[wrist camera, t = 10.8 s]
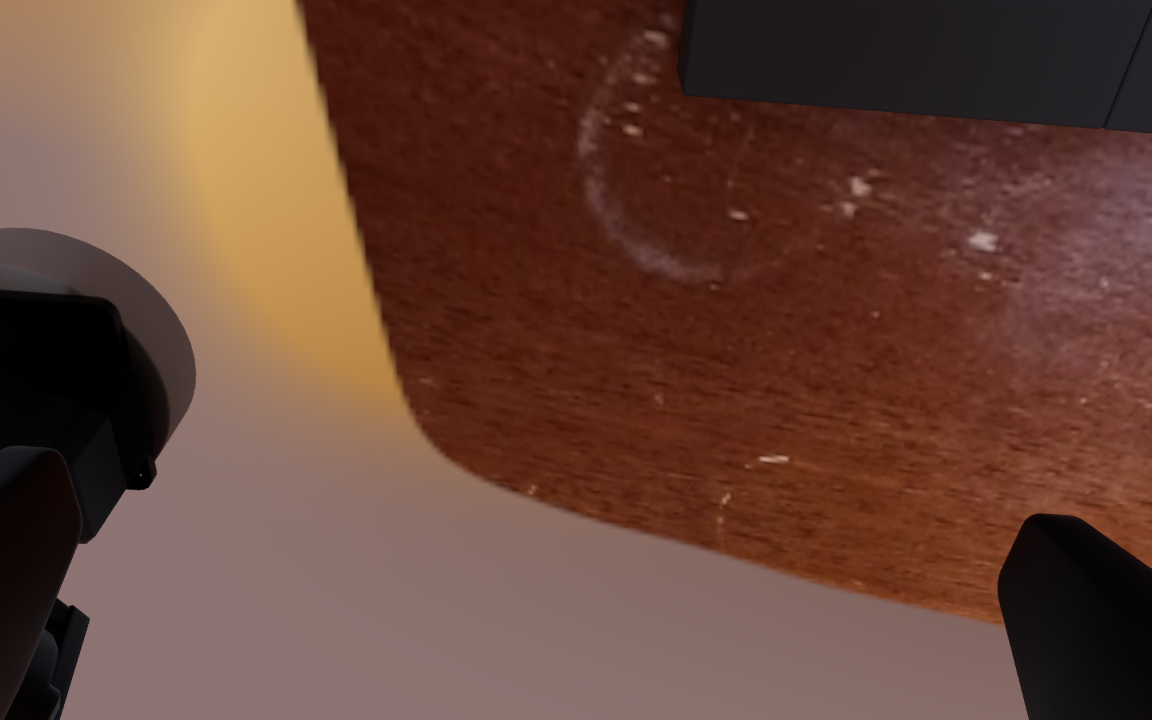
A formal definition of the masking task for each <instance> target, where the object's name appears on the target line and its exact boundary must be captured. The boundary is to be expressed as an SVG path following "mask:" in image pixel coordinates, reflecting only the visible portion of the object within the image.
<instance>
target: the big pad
mask: <svg viewBox="0 0 1152 720" xmlns="http://www.w3.org/2000/svg"><path fill="white" fill-rule="evenodd" d="M677 73H678V77H679V80H680V84H681V88H682V91H683V94H684V95H686V96H698V97H711V98H723V99H735V100H748V101H760V102H772V103H785V104H797V105H810V106H822V107H834V108H847V109H859V110H872V111H884V112H896V113H909V114H921V115H933V116H946V117H958V118H971V119H983V120H995V121H1008V122H1020V123H1033V124H1045V125H1057V126H1070V127H1082V128H1094V129H1099V128H1102V127H1103V128H1104V129H1106V130H1119V131H1131V132H1143V133H1152V0H686V7H685V14H684V22H683V29H682V36H681V44H680V51H679V59H678V66H677Z"/></svg>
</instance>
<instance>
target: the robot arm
mask: <svg viewBox="0 0 1152 720" xmlns="http://www.w3.org/2000/svg"><path fill="white" fill-rule="evenodd" d="M92 312H94V313H98V314H99V315H100V316H102V318H103V319H104V321H102V320H98V319H97V318H96V317H94V315H93V314H92ZM154 445H155V440H154V436H153V432H152V427H151V423H150V419H149V414H148V410H147V406H146V401H145V397H144V393H143V388H142V384H141V380H140V377H139V376H138V374H137V373H136V372H135V370H133V366H132V362H131V358H130V354H129V349H128V345H127V341H126V337H125V332H124V328H123V324H122V320H121V315H120V313H119V310H118V308H117V307H116V306H115V305H114V304H113V303H112V302H110V301H109V300H107V299H105V298H101V297H96V296H82V295H69V294H55V293H41V292H28V291H14V290H0V720H60V717H61V713H62V710H63V707H64V704H65V700H66V697H67V694H68V690H69V687H70V684H71V680H72V677H73V674H74V671H75V667H76V664H77V661H78V657H79V654H80V651H81V647H82V644H83V641H84V637H85V634H86V631H87V627H88V624H89V621H90V618H89V617H87V616H86V615H85V614H84V613H82V612H81V611H80V610H79V609H77V608H76V607H75V606H73V605H71V606H69V607H68V606H67V605H66V604H64V603H63V602H62V601H61V600H59V599H58V598H57V595H58V593H59V590H60V587H61V585H62V583H63V580H64V578H65V575H66V573H67V570H68V568H69V565H70V563H71V560H72V558H73V555H74V553H75V550H76V548H77V545H78V543H79V544H86V543H88V542H89V541H90V540H91V539H92V538H94V537H95V536H96V534H97V533H98V531H99V530H100V528H101V527H102V525H103V524H104V522H105V521H106V519H107V517H108V516H109V514H110V513H111V511H112V509H113V508H114V506H115V505H116V504H117V502H118V501H119V499H120V497H121V496H122V494H123V493H124V491H125V490H145V489H147V488H149V486H150V485H151V484H152V482H153V480H154V479H155V477H156V475H157V469H156V464H155V460H154V456H153V451H152V448H153V447H154ZM137 472H138V473H139V474H141V475H142V476H141V475H137V474H136V473H137ZM998 598H999V603H1000V607H1001V611H1002V615H1003V619H1004V623H1005V627H1006V631H1007V635H1008V638H1009V643H1010V646H1011V650H1012V654H1013V658H1014V662H1015V666H1016V670H1017V674H1018V678H1019V682H1020V686H1021V690H1022V694H1023V698H1024V702H1025V706H1026V710H1027V713H1028V718H1029V720H1152V569H1151V568H1150V567H1148V566H1147V565H1146V564H1144V563H1143V562H1141V561H1140V560H1139V559H1137V558H1136V557H1134V556H1133V555H1131V554H1130V553H1129V552H1127V551H1126V550H1124V549H1123V548H1122V547H1120V546H1119V545H1117V544H1116V543H1115V542H1113V541H1112V540H1110V539H1109V538H1107V537H1106V536H1105V535H1103V534H1102V533H1100V532H1099V531H1098V530H1096V529H1095V528H1093V527H1092V526H1091V525H1089V524H1088V523H1086V522H1085V521H1083V520H1082V519H1080V518H1078V517H1075V516H1070V515H1057V514H1041V513H1039V514H1034V515H1031V516H1030V517H1028V518H1027V519H1026V520H1025V521H1024V523H1023V525H1022V527H1021V529H1020V531H1019V533H1018V535H1017V537H1016V539H1015V542H1014V544H1013V546H1012V548H1011V550H1010V552H1009V554H1008V556H1007V558H1006V561H1005V563H1004V565H1003V567H1002V569H1001V571H1000V574H999V579H998Z"/></svg>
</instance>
